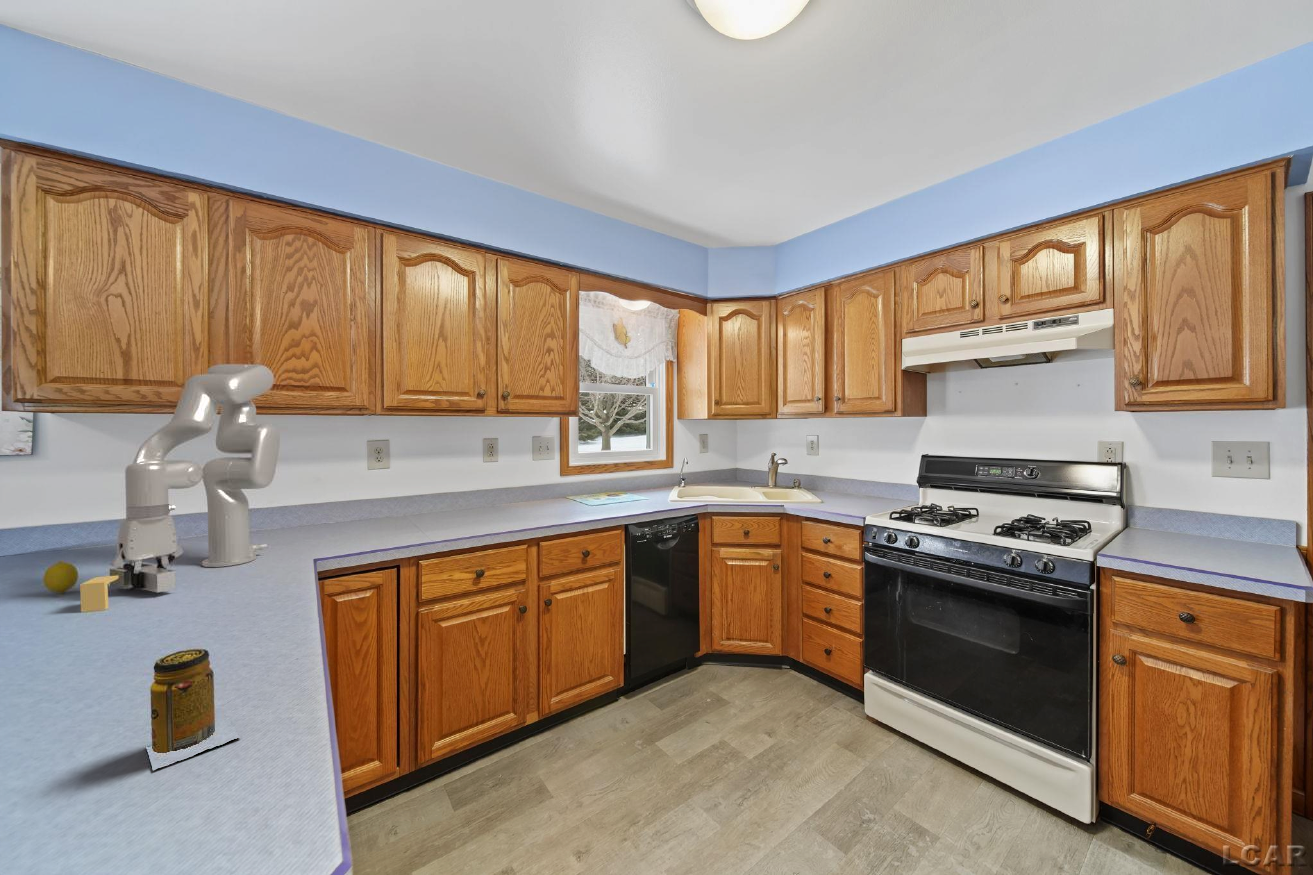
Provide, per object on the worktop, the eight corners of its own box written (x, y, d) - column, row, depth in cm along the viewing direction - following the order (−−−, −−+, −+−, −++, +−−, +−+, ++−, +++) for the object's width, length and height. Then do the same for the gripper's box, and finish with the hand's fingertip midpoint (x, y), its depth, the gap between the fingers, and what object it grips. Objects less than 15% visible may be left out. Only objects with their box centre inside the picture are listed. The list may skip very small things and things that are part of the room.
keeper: (96, 604, 119) (95, 577, 118) (119, 601, 120) (118, 575, 120) (81, 612, 113) (80, 584, 113) (105, 609, 115) (104, 582, 115)
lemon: (54, 598, 123) (53, 565, 123) (37, 596, 124) (36, 563, 124) (84, 590, 128) (83, 559, 128) (68, 589, 129) (67, 557, 129)
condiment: (145, 748, 66) (142, 657, 66) (229, 719, 73) (227, 636, 72) (152, 773, 61) (149, 675, 61) (241, 740, 68) (239, 651, 68)
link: (183, 586, 128) (183, 568, 128) (149, 594, 122) (148, 576, 121) (144, 578, 134) (143, 562, 134) (109, 586, 128) (109, 568, 128)
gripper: (180, 506, 136) (181, 575, 136) (93, 516, 121) (95, 594, 121) (196, 508, 133) (198, 578, 134) (110, 519, 118) (112, 597, 118)
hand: (149, 585), depth 127 cm, fingers closed on link, 3 cm apart
